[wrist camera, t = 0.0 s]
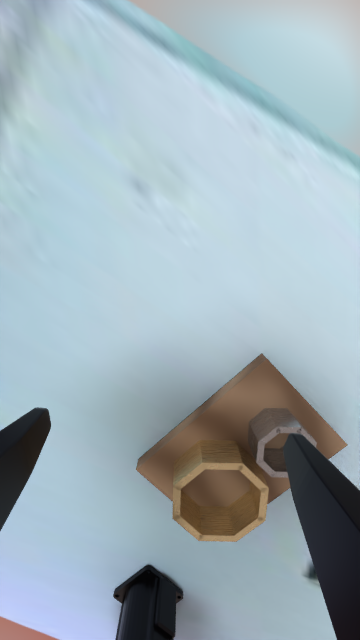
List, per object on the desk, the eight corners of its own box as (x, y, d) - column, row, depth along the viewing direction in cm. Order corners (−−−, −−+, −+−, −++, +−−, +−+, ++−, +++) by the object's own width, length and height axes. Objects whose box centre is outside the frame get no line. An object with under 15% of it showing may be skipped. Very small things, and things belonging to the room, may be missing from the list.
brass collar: (212, 525, 27) (216, 556, 24) (156, 475, 26) (153, 502, 23) (274, 478, 26) (286, 505, 23) (218, 424, 25) (223, 445, 22)
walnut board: (216, 527, 29) (218, 540, 28) (138, 459, 27) (135, 469, 26) (338, 435, 26) (347, 444, 25) (261, 353, 25) (266, 358, 23)
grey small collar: (270, 462, 25) (281, 487, 22) (237, 430, 25) (245, 451, 22) (310, 432, 25) (327, 453, 22) (277, 398, 24) (290, 415, 21)
